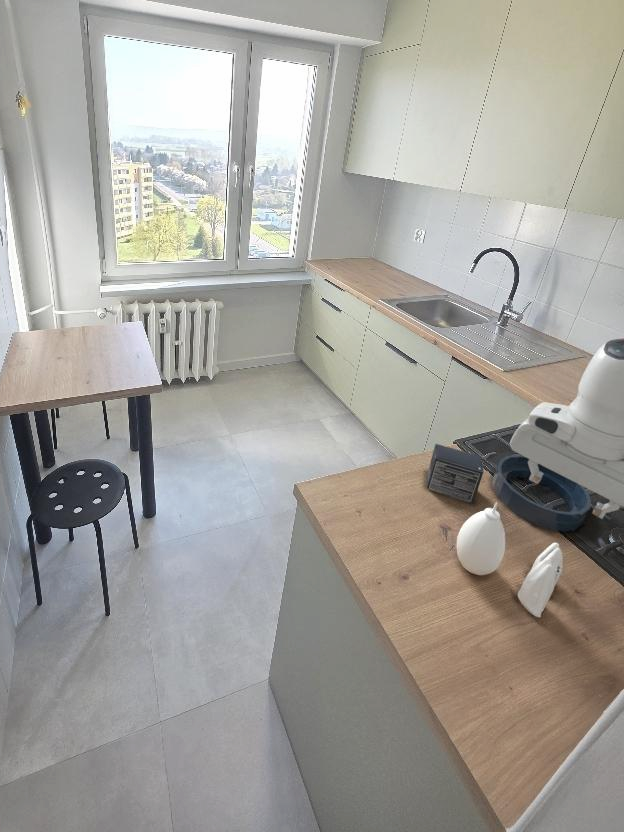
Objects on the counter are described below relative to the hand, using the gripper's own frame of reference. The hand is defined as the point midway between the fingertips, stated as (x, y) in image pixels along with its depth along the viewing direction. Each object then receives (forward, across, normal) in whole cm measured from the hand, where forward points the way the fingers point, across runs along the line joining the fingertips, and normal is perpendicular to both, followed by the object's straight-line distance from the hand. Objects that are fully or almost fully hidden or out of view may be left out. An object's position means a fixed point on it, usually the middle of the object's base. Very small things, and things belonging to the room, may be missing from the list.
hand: (564, 496), depth 73 cm
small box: (+23, +21, -11) cm, 33 cm away
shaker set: (+23, -2, +2) cm, 23 cm away
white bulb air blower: (+23, +8, +5) cm, 25 cm away
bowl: (+23, +6, -25) cm, 34 cm away
